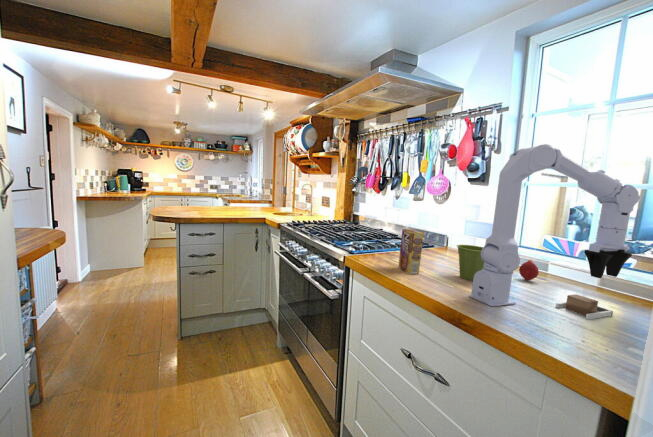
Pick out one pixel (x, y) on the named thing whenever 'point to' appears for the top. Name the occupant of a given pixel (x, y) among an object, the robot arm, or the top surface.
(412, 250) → the candy box
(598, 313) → the channel
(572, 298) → the walnut block
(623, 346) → the top surface
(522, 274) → the pomegranate
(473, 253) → the plant pot
